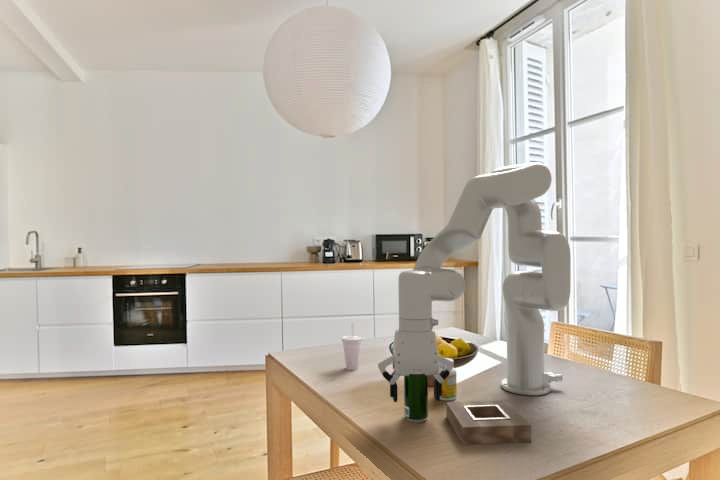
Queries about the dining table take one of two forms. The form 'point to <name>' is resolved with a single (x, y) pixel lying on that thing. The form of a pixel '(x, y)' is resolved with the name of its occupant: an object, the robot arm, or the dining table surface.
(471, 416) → the jig bore mouth
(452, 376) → the supplement bottle
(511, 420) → the block
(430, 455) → the dining table surface
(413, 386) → the beer can
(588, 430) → the dining table surface
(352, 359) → the smoothie
